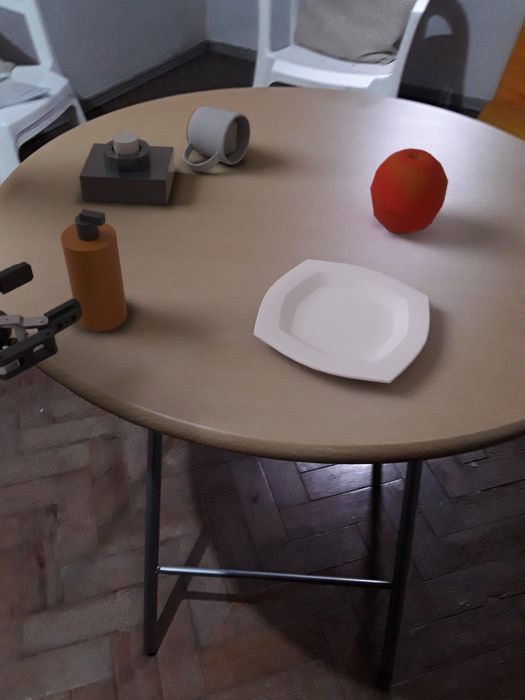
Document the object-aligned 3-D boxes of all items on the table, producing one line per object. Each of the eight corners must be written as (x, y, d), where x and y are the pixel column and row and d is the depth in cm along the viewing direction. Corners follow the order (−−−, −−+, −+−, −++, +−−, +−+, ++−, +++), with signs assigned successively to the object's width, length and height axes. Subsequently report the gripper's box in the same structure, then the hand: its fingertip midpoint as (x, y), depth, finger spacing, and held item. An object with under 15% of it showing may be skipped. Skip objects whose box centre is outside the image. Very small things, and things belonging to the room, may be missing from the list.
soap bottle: (68, 325, 71) (45, 221, 62) (91, 295, 75) (72, 193, 66) (114, 336, 70) (97, 231, 61) (134, 305, 74) (122, 202, 65)
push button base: (83, 201, 90) (76, 162, 86) (97, 167, 97) (91, 130, 93) (167, 205, 90) (164, 166, 86) (174, 171, 97) (172, 134, 93)
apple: (442, 247, 86) (465, 170, 78) (368, 243, 86) (384, 165, 78) (429, 207, 93) (449, 133, 85) (361, 204, 93) (375, 129, 85)
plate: (231, 350, 69) (231, 337, 68) (298, 259, 82) (300, 247, 81) (398, 412, 64) (402, 399, 63) (442, 304, 77) (447, 292, 76)
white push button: (112, 155, 88) (110, 142, 87) (116, 144, 91) (114, 130, 90) (137, 157, 89) (136, 143, 87) (141, 145, 91) (140, 131, 90)
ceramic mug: (210, 139, 105) (209, 94, 100) (251, 153, 102) (252, 107, 97) (171, 165, 99) (167, 118, 93) (213, 181, 96) (212, 133, 91)
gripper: (-74, 380, 50) (91, 289, 59) (-154, 299, 57) (7, 229, 66) (-46, 438, 55) (102, 346, 64) (-122, 358, 62) (22, 285, 71)
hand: (54, 287), depth 65 cm, fingers open, 8 cm apart
